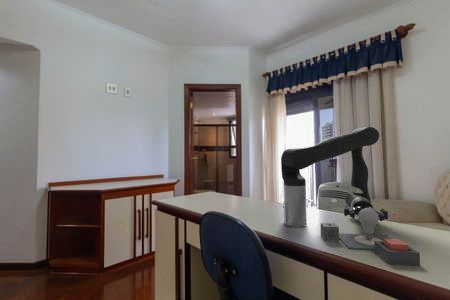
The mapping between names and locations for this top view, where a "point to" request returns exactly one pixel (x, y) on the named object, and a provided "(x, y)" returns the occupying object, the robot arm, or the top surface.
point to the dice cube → (329, 232)
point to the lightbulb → (368, 221)
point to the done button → (395, 244)
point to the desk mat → (360, 240)
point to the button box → (397, 255)
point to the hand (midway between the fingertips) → (367, 217)
